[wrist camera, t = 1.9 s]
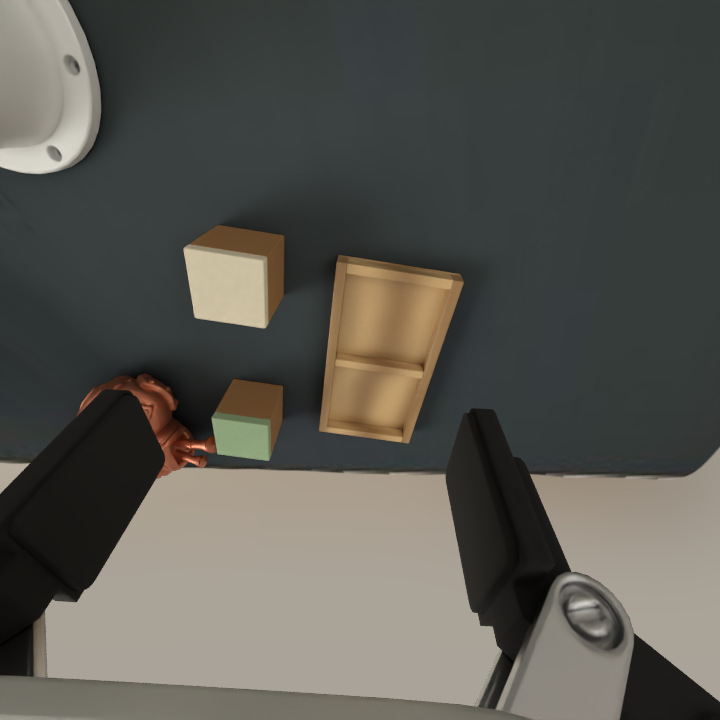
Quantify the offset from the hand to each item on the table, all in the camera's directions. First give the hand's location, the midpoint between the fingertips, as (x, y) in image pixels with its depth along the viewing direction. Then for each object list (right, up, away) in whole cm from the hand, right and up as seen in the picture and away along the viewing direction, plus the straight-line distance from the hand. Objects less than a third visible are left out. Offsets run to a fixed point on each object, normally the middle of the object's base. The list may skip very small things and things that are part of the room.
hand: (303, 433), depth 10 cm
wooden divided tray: (+3, +2, +22) cm, 22 cm away
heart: (-20, -3, +27) cm, 34 cm away
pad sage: (-9, -2, +26) cm, 27 cm away
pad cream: (-7, +10, +17) cm, 21 cm away
